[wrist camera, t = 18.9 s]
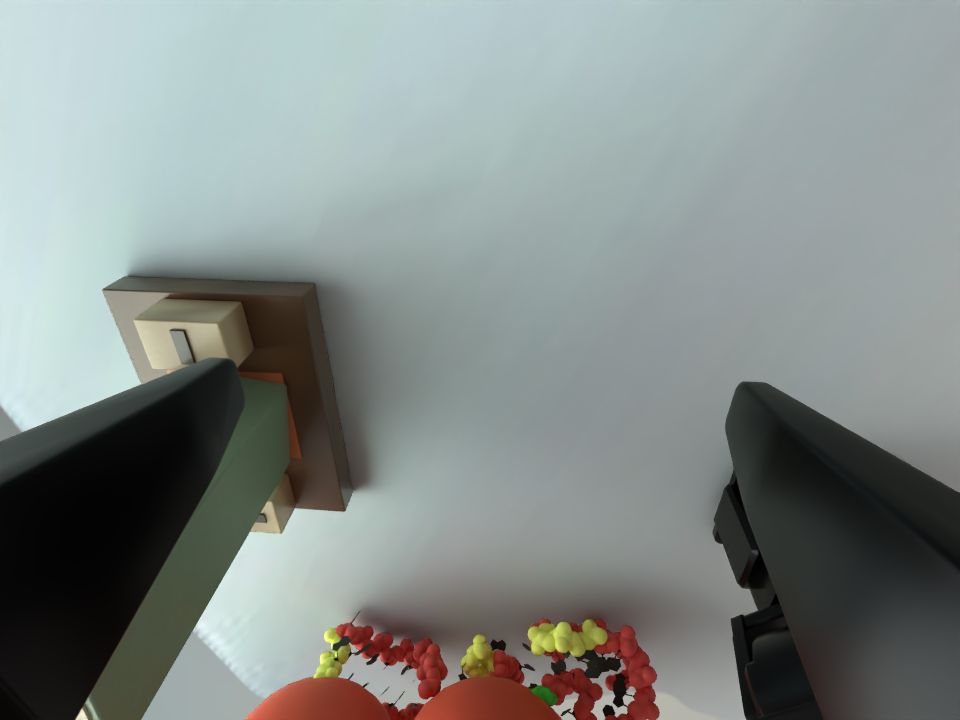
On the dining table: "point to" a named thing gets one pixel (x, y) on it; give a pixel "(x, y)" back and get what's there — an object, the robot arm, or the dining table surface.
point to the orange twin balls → (475, 678)
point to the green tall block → (198, 557)
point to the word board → (248, 366)
